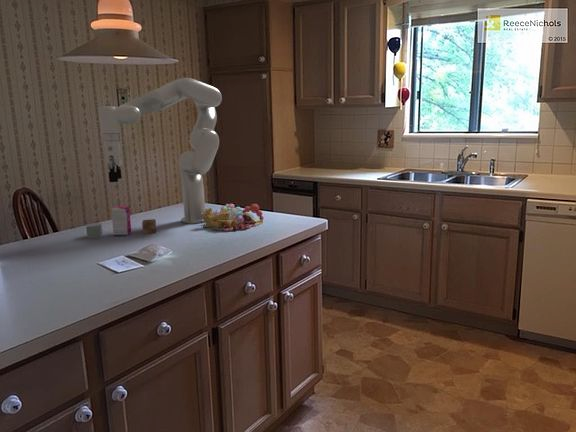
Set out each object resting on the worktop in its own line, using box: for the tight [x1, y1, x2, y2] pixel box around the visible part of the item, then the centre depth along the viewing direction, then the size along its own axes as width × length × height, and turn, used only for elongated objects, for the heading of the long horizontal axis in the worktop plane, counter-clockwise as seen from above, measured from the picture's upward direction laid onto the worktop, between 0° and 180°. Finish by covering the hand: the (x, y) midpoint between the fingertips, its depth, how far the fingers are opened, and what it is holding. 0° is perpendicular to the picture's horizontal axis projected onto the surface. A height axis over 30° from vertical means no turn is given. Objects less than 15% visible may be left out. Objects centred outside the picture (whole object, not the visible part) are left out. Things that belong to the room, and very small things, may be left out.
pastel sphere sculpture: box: [202, 203, 265, 232], centre depth 213 cm, size 25×24×9 cm
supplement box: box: [111, 205, 132, 237], centre depth 202 cm, size 6×6×12 cm
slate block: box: [85, 222, 103, 239], centre depth 200 cm, size 5×5×5 cm
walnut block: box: [141, 218, 157, 235], centre depth 204 cm, size 5×5×5 cm
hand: (115, 180), depth 197 cm, fingers open, 9 cm apart
